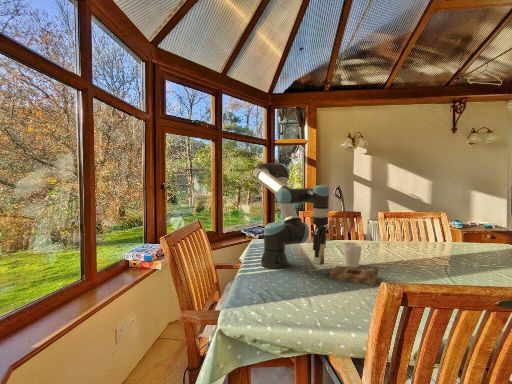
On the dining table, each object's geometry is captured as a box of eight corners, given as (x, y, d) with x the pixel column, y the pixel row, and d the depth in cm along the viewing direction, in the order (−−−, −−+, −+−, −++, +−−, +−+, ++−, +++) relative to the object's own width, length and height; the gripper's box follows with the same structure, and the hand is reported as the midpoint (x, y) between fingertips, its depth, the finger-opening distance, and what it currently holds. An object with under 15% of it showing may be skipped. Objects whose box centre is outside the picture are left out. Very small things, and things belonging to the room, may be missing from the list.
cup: (349, 269, 153) (350, 246, 153) (340, 264, 162) (340, 243, 161) (364, 267, 156) (364, 245, 155) (354, 262, 164) (354, 242, 164)
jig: (329, 277, 140) (329, 267, 140) (336, 270, 150) (336, 261, 150) (373, 286, 130) (373, 275, 130) (377, 277, 140) (377, 267, 140)
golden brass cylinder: (312, 263, 145) (313, 244, 145) (316, 260, 150) (316, 242, 149) (322, 265, 143) (322, 245, 142) (325, 262, 147) (326, 243, 146)
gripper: (321, 219, 135) (320, 268, 137) (333, 214, 150) (331, 258, 152) (306, 218, 138) (305, 265, 140) (319, 213, 154) (317, 255, 156)
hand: (319, 261), depth 146 cm, fingers closed on golden brass cylinder, 5 cm apart
